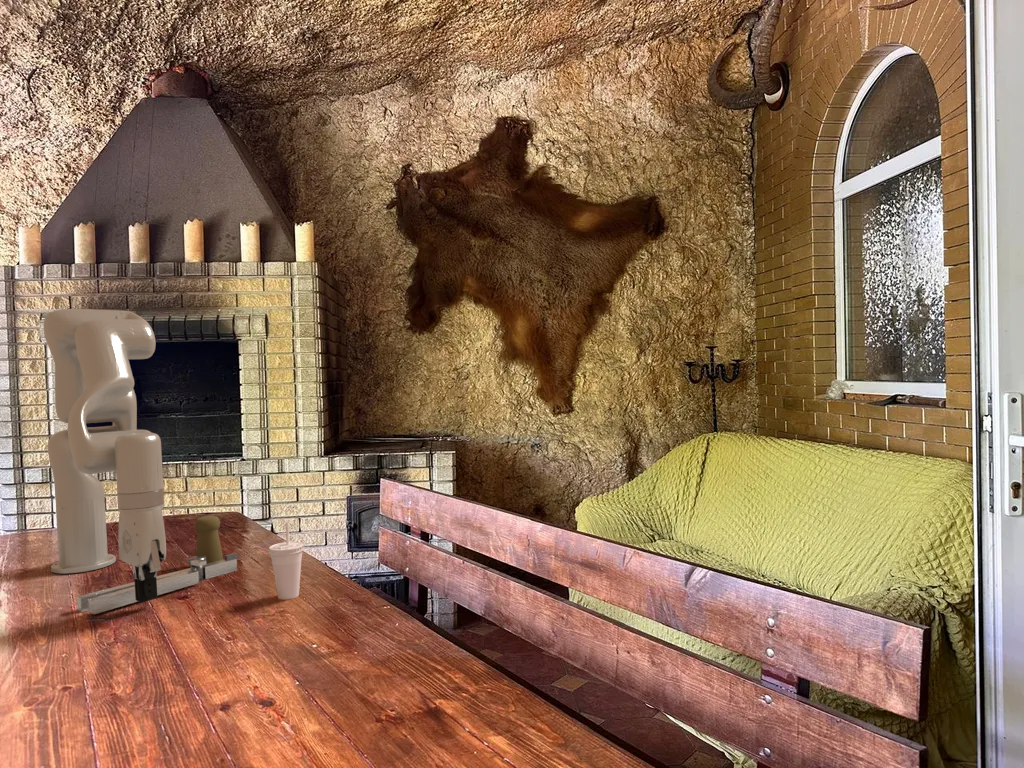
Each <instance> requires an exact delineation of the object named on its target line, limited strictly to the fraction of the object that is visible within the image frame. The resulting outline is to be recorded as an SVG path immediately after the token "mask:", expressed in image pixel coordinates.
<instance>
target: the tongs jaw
mask: <svg viewBox="0 0 1024 768" xmlns="http://www.w3.org/2000/svg"><path fill="white" fill-rule="evenodd" d="M186 563H187V565H190V566H191V565H194V566H203V565H206V556H196V555H195V556H191V557H188V558H186ZM196 584H200V581H199V574H198V571H195V570H191V571H187V572H184V573H180V574H177V575H173V576H169V577H166V578H162V579H159V580H157V596H160V595H163V594H166V593H170V592H174V591H177V590H180V589H183V588H186V587H190V586H193V585H196ZM88 602H89V611H88V613H90V614H92V615H96V614H101V613H104V612H107V611H110V610H114V609H117V608H120V607H124V606H127V605H130V604H134V603H137V602H138V601H136V598H135V586H134V587H130V588H127V589H123V590H120V591H116V592H113V593H109V594H106V595H102V596H98V597H95V598H91V599H88Z"/></svg>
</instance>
